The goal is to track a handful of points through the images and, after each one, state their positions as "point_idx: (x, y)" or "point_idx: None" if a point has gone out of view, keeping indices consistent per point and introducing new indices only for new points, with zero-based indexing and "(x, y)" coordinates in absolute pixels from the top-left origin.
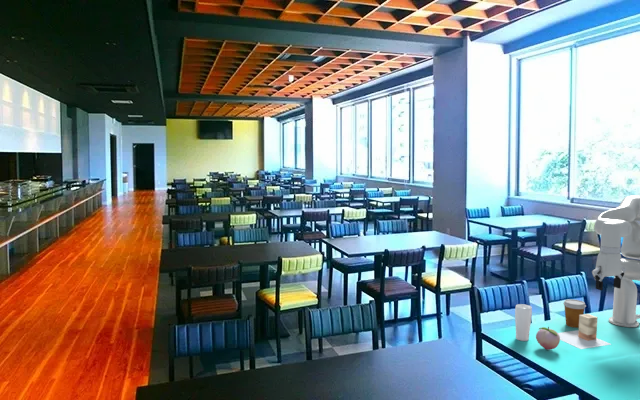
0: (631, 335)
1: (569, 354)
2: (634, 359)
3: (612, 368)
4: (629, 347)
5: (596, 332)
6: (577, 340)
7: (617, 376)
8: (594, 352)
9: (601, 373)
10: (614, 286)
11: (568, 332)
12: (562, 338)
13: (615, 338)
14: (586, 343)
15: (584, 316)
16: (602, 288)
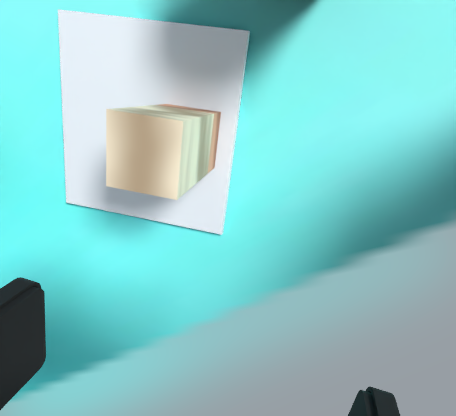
0: (453, 208)
1: (9, 202)
2: (176, 333)
3: (56, 326)
4: (271, 277)
5: (204, 175)
6: None
7: None
8: (102, 235)
9: None
10: (354, 407)
11: (171, 34)
12: (81, 85)
13: (329, 192)
14: None
15: (110, 149)
16: (21, 382)
